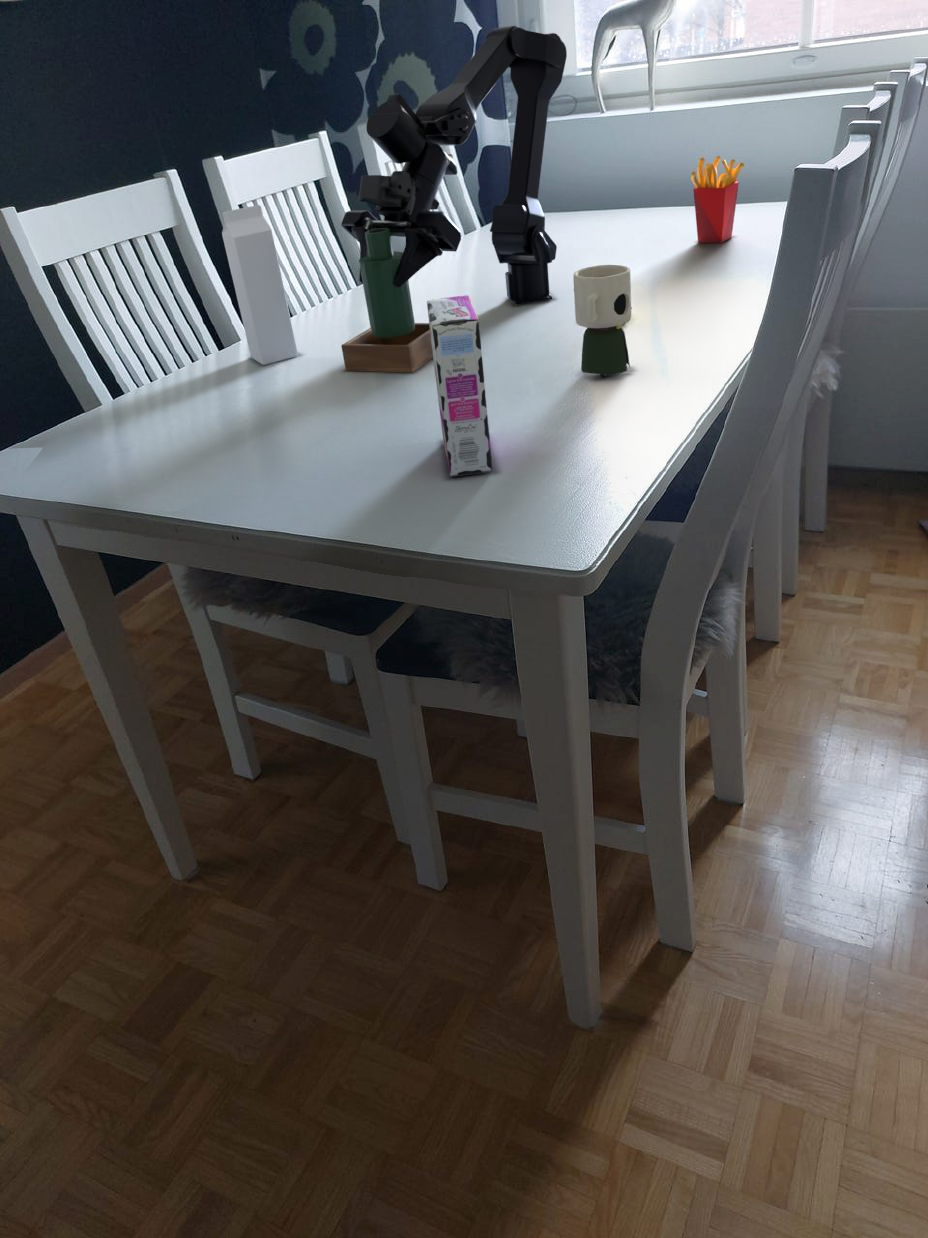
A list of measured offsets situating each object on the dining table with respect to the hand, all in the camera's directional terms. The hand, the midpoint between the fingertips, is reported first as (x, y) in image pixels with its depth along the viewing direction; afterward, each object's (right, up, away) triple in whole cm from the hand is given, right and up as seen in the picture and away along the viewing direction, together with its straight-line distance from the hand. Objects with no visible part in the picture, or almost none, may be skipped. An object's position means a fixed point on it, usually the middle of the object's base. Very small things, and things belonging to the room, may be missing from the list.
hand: (378, 284), depth 134 cm
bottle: (+2, -5, +5) cm, 7 cm away
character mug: (+31, -15, -9) cm, 36 cm away
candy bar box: (+13, -30, -28) cm, 43 cm away
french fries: (+61, +26, +49) cm, 82 cm away
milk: (-18, -6, +16) cm, 25 cm away
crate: (+2, -9, +7) cm, 11 cm away
